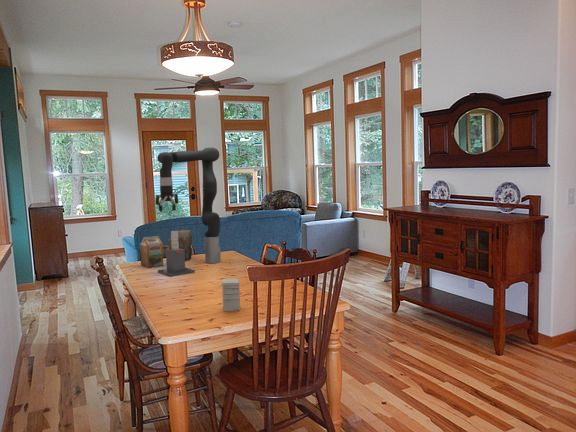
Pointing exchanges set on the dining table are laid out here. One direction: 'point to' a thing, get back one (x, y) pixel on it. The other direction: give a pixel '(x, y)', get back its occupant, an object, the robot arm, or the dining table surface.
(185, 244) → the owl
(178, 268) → the stand housing
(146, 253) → the milk carton
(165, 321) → the dining table surface
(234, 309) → the supplement box
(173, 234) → the column
